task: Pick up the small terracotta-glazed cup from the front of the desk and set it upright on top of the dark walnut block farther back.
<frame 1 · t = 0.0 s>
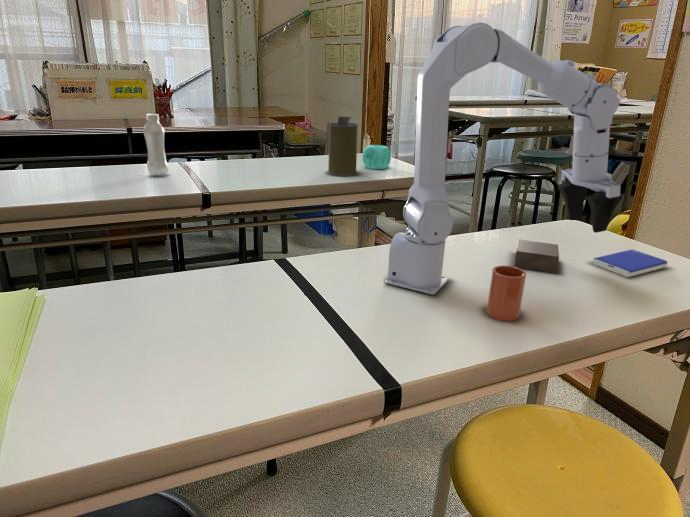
hand: (586, 224, 97), 11 cm above the table, tool pointing down, fingers open, 7 cm apart
canister: (341, 173, 186), on the table
plastic bottle: (158, 176, 173), on the table
cup: (502, 313, 84), on the table
hard drive: (628, 266, 107), on the table
block: (535, 263, 106), on the table
decorative dice: (376, 167, 198), on the table
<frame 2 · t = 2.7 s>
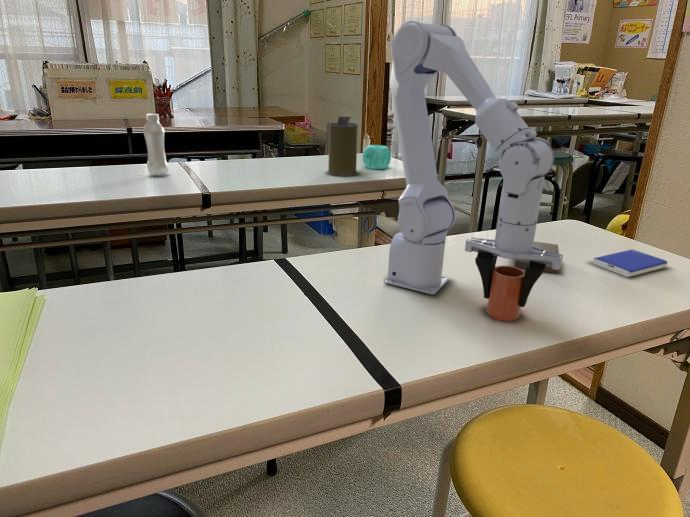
hand: (504, 300, 83), 2 cm above the table, tool pointing down, fingers closed on cup, 5 cm apart
cup: (502, 313, 84), on the table, touching gripper
everything else where it was.
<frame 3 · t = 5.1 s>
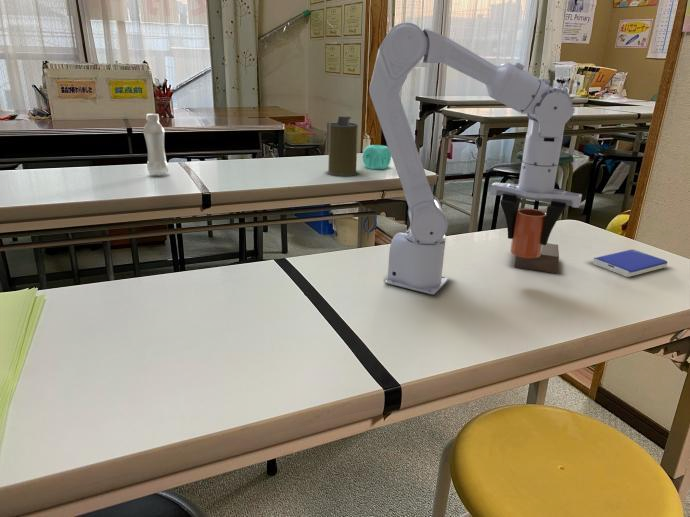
hand: (527, 240, 90), 9 cm above the table, tool pointing down, fingers closed on cup, 5 cm apart
cup: (525, 253, 91), point 7 cm above the table, touching gripper
everything else where it was.
when the fingers open (6 cm above the table, at t = 7.6 s): cup stays where it is, resting on block.
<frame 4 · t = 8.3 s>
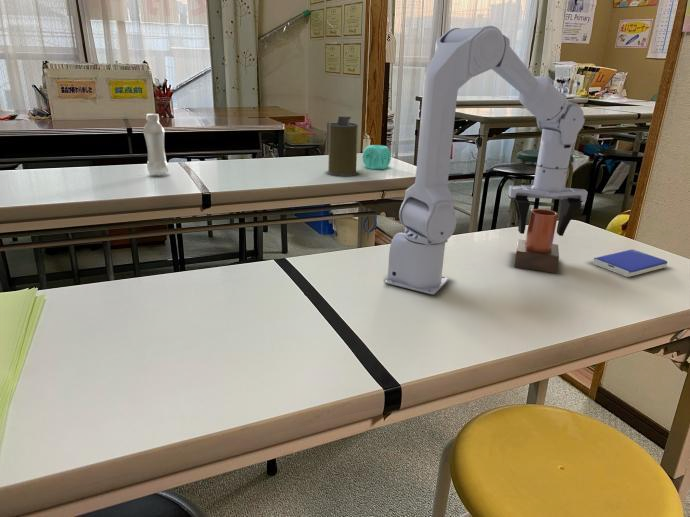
hand: (540, 233, 104), 7 cm above the table, tool pointing down, fingers open, 7 cm apart
cup: (538, 247, 105), point 4 cm above the table, touching block
block: (535, 263, 106), on the table, touching cup
everything else where it was.
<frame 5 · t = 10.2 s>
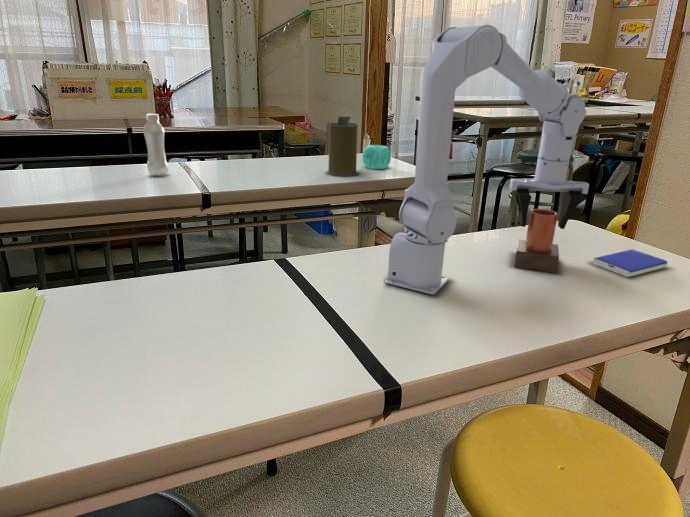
hand: (541, 226, 103), 8 cm above the table, tool pointing down, fingers open, 7 cm apart
nothing on the table moved.
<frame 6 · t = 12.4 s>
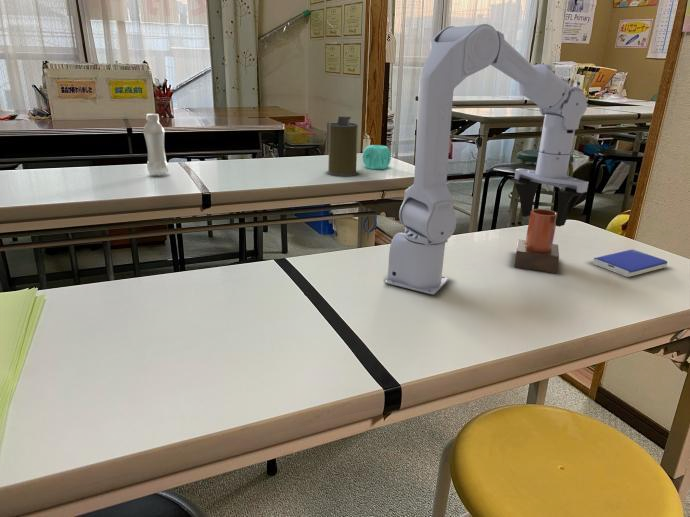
hand: (542, 220, 103), 9 cm above the table, tool pointing down, fingers open, 7 cm apart
nothing on the table moved.
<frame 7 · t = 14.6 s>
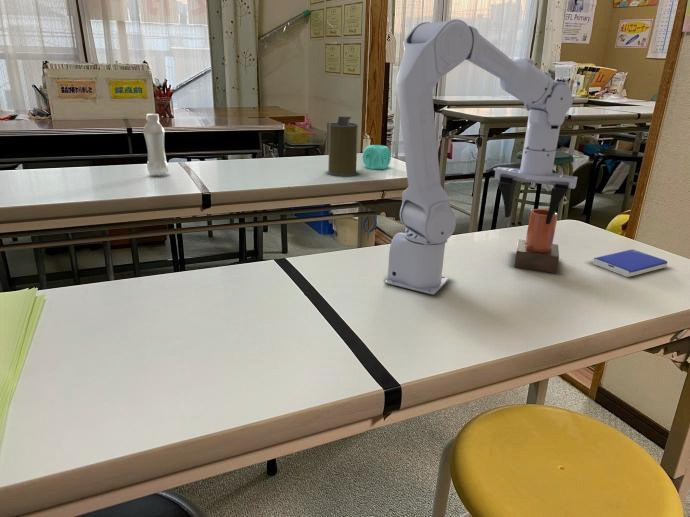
hand: (527, 219, 100), 10 cm above the table, tool pointing down, fingers open, 7 cm apart
nothing on the table moved.
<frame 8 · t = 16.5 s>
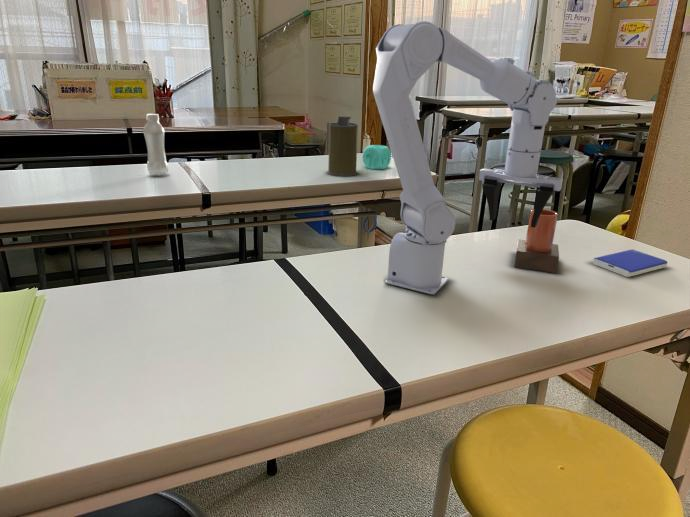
hand: (512, 222, 97), 10 cm above the table, tool pointing down, fingers open, 7 cm apart
nothing on the table moved.
at the end: cup 0.1 cm off-centre on the block, point 3.5 cm above the block's base; cup tilted 0°; the gripper is holding nothing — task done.
